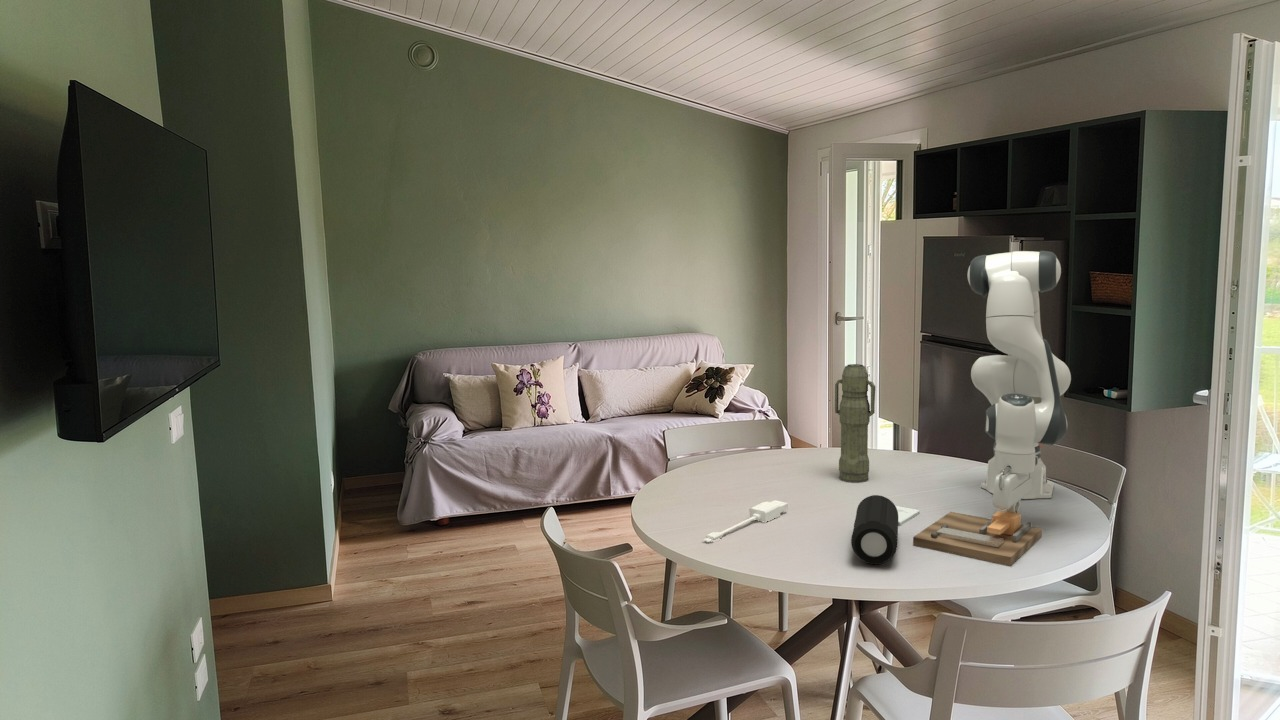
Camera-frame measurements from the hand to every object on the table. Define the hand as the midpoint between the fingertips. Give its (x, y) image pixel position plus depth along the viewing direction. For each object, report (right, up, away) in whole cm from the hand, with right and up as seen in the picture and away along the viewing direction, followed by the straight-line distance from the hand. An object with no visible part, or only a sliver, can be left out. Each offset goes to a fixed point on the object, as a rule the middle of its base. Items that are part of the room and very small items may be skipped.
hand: (1012, 518), depth 202 cm
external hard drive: (-23, -4, +16) cm, 29 cm away
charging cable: (-63, -5, +12) cm, 64 cm away
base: (-9, -5, -3) cm, 11 cm away
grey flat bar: (-13, -3, -8) cm, 16 cm away
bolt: (-5, -3, -5) cm, 8 cm away
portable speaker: (-35, -6, -6) cm, 36 cm away
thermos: (-25, +2, +53) cm, 59 cm away
